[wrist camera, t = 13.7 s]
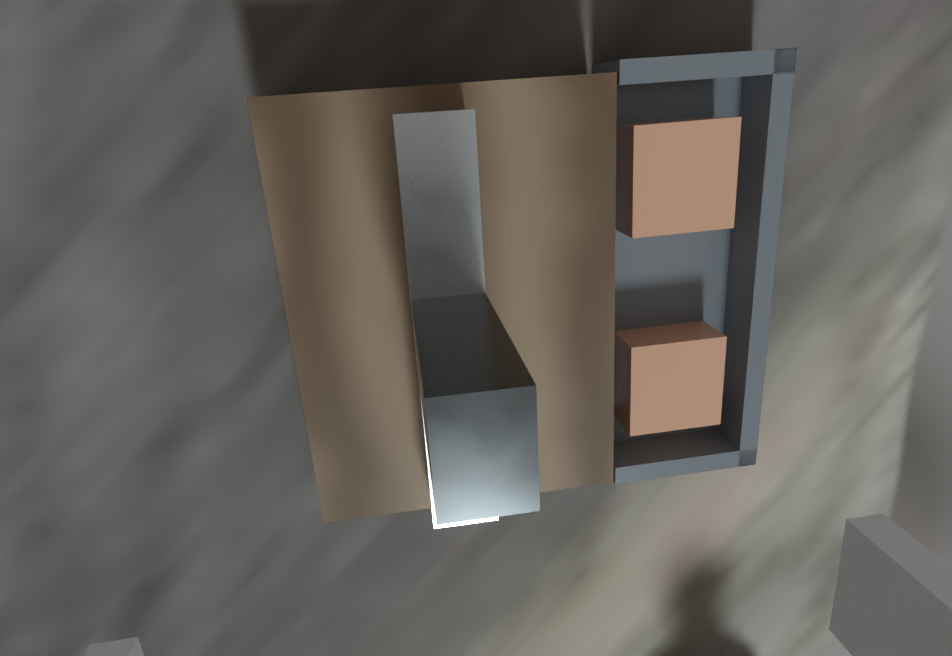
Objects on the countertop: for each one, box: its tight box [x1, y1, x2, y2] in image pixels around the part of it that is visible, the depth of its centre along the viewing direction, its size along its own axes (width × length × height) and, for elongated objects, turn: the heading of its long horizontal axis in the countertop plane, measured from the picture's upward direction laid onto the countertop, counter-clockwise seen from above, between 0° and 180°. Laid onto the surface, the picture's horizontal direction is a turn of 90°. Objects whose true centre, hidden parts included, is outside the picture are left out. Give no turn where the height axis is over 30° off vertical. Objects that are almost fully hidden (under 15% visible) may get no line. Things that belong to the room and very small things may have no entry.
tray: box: [594, 48, 797, 484], centre depth 32 cm, size 8×21×4 cm, turn 4°
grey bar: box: [392, 109, 540, 529], centre depth 23 cm, size 3×18×12 cm, turn 3°
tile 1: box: [614, 321, 727, 436], centre depth 33 cm, size 5×5×2 cm
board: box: [246, 72, 617, 523], centre depth 30 cm, size 15×20×4 cm
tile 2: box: [616, 116, 742, 238], centre depth 29 cm, size 5×5×2 cm
